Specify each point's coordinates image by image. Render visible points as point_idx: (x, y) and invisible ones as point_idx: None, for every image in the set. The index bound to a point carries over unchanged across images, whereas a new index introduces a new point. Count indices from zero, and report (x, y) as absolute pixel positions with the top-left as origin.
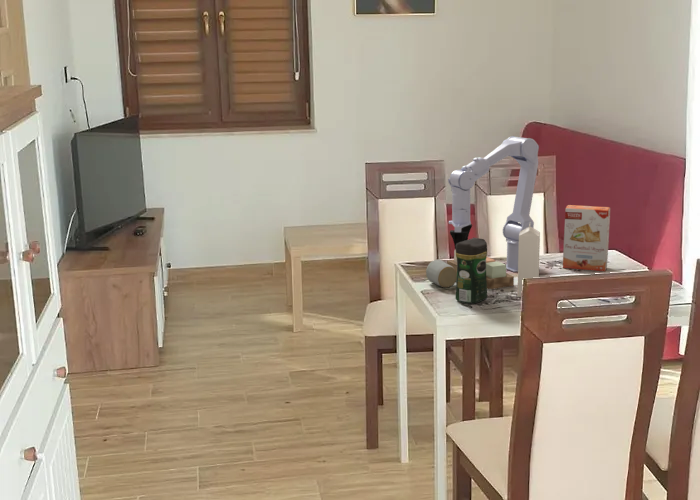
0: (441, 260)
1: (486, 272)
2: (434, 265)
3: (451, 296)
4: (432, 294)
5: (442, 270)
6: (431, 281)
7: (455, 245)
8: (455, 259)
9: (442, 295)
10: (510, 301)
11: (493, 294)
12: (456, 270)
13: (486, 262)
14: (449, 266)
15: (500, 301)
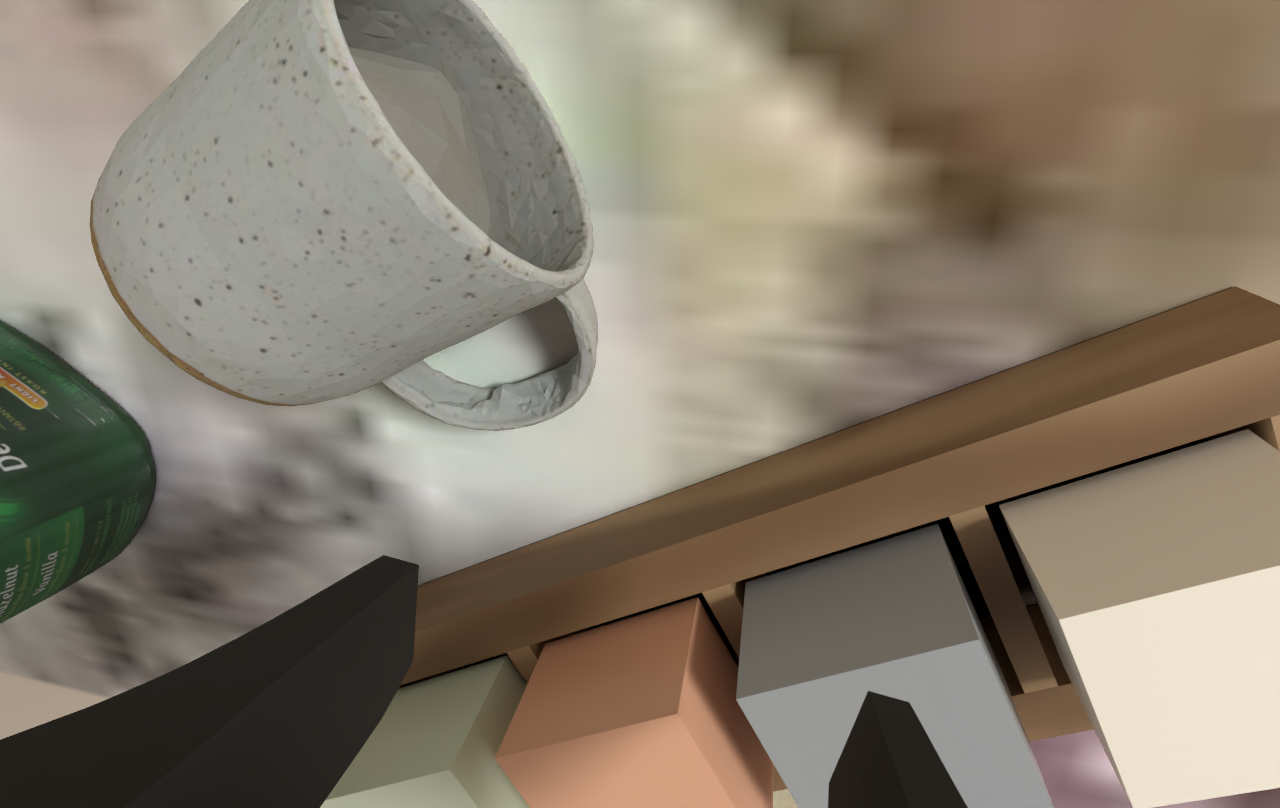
0: (396, 227)
1: (450, 699)
2: (201, 81)
3: (78, 269)
4: (73, 64)
5: (91, 218)
6: (408, 41)
7: (259, 646)
8: (1226, 465)
9: (77, 179)
10: (112, 673)
11: (237, 607)
12: (955, 408)
13: (532, 795)
14: (165, 340)
15: (89, 617)
